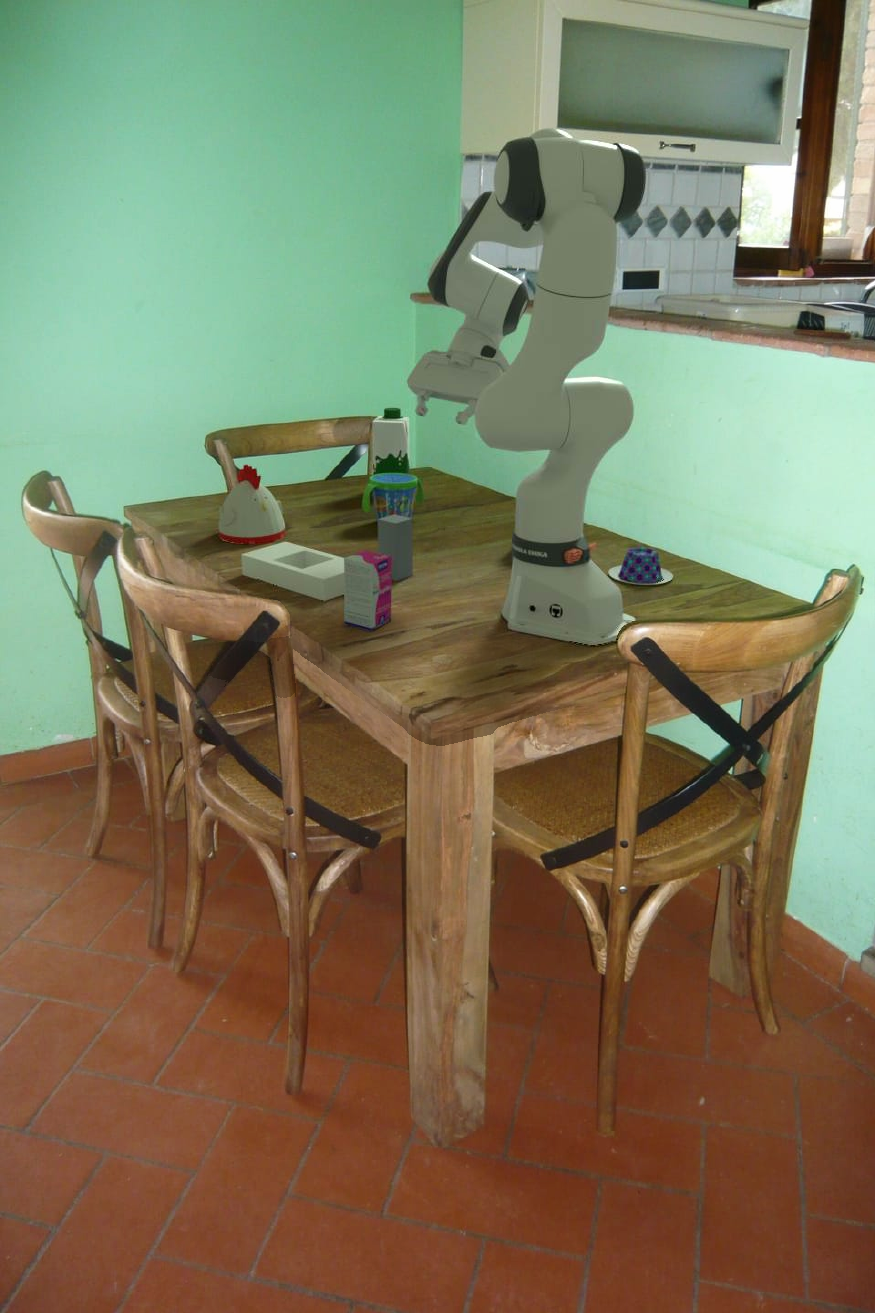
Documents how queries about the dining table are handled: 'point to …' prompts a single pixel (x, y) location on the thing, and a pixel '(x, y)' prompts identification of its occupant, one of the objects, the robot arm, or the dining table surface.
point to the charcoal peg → (396, 544)
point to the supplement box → (367, 590)
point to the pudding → (641, 568)
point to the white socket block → (297, 569)
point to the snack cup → (392, 494)
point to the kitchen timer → (251, 512)
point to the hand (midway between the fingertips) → (439, 418)
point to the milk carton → (391, 443)
